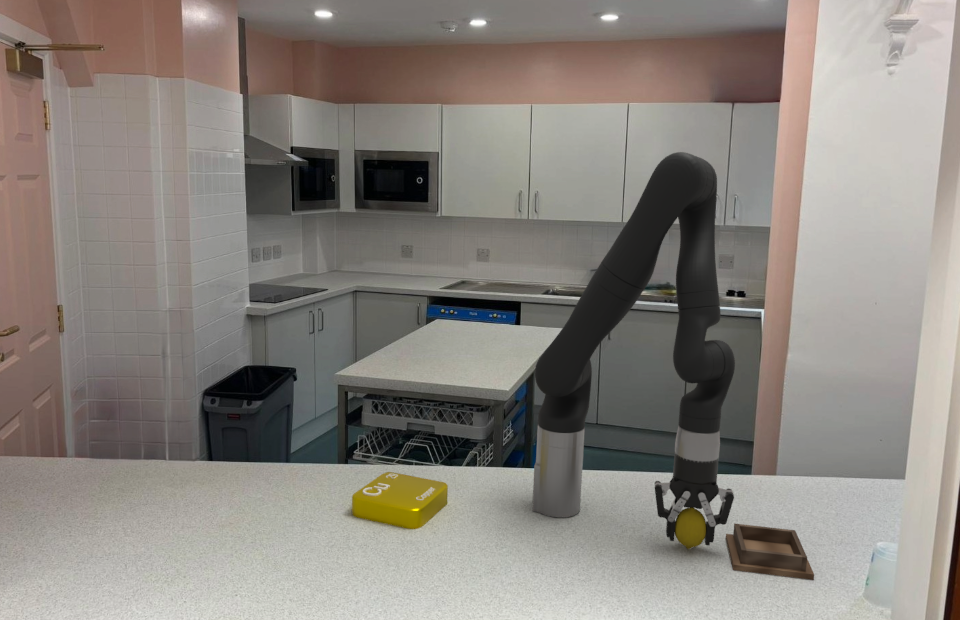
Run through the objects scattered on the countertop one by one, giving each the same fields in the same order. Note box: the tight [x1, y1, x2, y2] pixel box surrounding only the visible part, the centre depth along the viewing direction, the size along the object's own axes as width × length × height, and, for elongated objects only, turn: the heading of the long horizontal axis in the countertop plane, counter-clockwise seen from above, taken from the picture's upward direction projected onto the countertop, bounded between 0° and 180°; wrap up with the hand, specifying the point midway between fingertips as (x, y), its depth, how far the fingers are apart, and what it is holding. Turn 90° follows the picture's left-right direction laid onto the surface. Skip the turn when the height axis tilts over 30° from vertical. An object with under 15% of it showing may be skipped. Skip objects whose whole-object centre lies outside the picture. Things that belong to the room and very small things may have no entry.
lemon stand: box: [725, 522, 815, 581], centre depth 136 cm, size 13×12×4 cm
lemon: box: [674, 507, 707, 550], centre depth 139 cm, size 6×6×8 cm
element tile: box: [351, 471, 449, 530], centre depth 152 cm, size 15×15×5 cm
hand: (689, 540), depth 139 cm, fingers closed on lemon, 5 cm apart
